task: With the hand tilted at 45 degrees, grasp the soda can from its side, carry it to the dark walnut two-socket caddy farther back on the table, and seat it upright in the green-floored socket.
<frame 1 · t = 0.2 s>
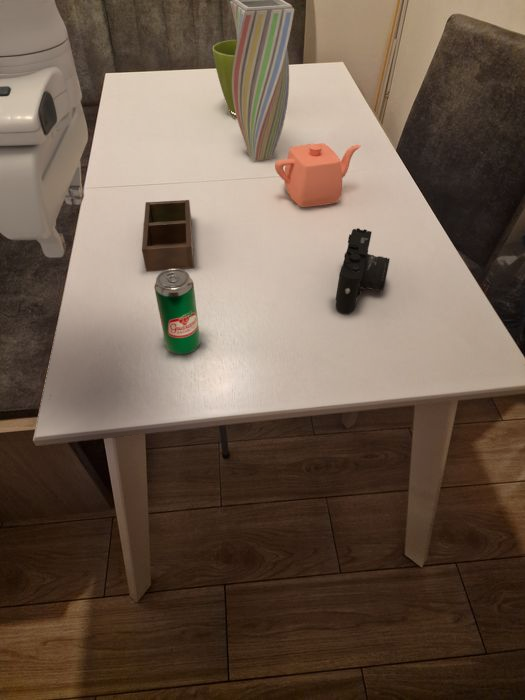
hand: (66, 225, 50), 23 cm above the table, tool pointing down, fingers open, 8 cm apart
flower pot: (243, 114, 132), on the table
teapot: (314, 195, 102), on the table
camera: (359, 291, 80), on the table
vase: (260, 156, 115), on the table
soda can: (183, 344, 71), on the table
caddy: (170, 244, 88), on the table
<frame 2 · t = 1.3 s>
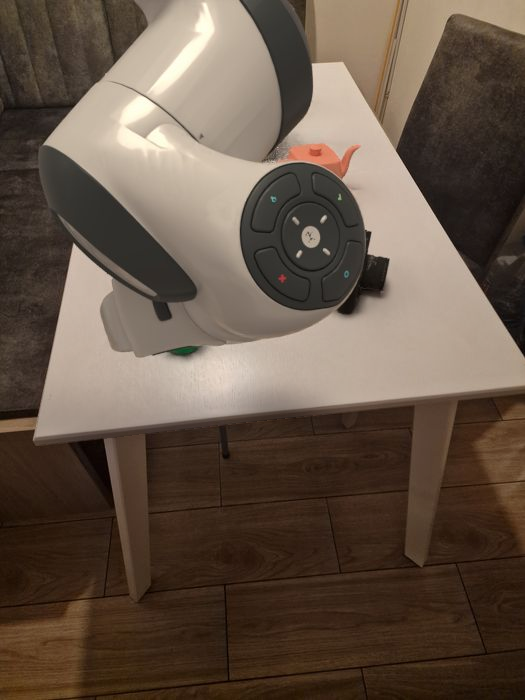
hand: (202, 307, 51), 17 cm above the table, tool tilted 45°, fingers open, 8 cm apart
nothing on the table moved.
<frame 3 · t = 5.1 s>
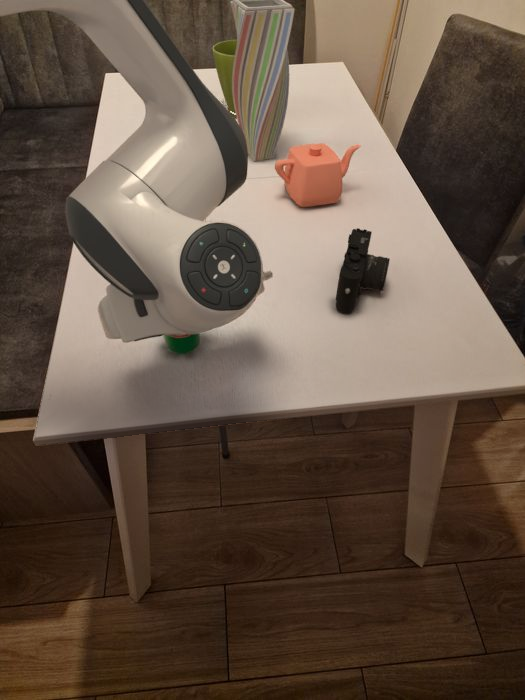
hand: (176, 307, 66), 7 cm above the table, tool tilted 45°, fingers closed on soda can, 5 cm apart
soda can: (183, 344, 71), on the table, touching gripper
everything else where it was.
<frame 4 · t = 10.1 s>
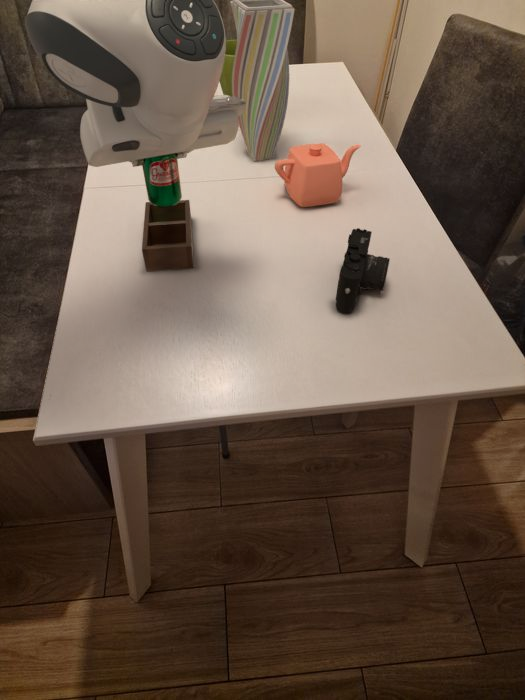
hand: (157, 157, 70), 19 cm above the table, tool tilted 45°, fingers closed on soda can, 5 cm apart
soda can: (165, 202, 74), point 13 cm above the table, touching gripper
everything else where it was.
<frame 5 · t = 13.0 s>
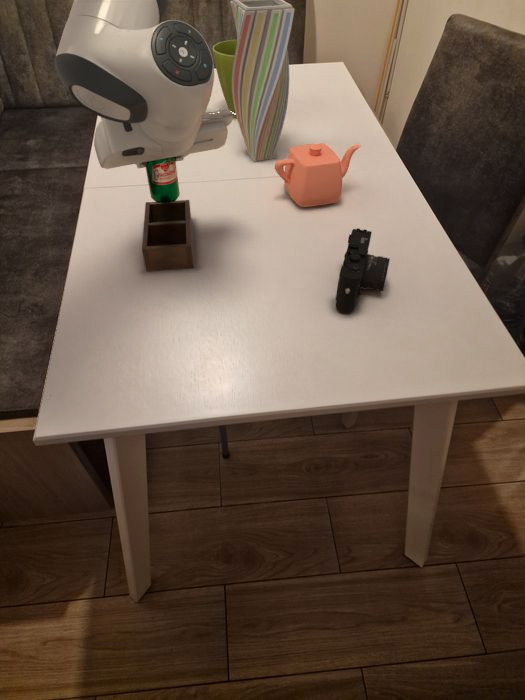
hand: (158, 160, 81), 14 cm above the table, tool tilted 45°, fingers closed on soda can, 5 cm apart
soda can: (165, 198, 86), point 7 cm above the table, touching gripper
everything else where it was.
when the fingers open (7 cm above the table, at t = 15.2 s): soda can stays where it is, resting on caddy.
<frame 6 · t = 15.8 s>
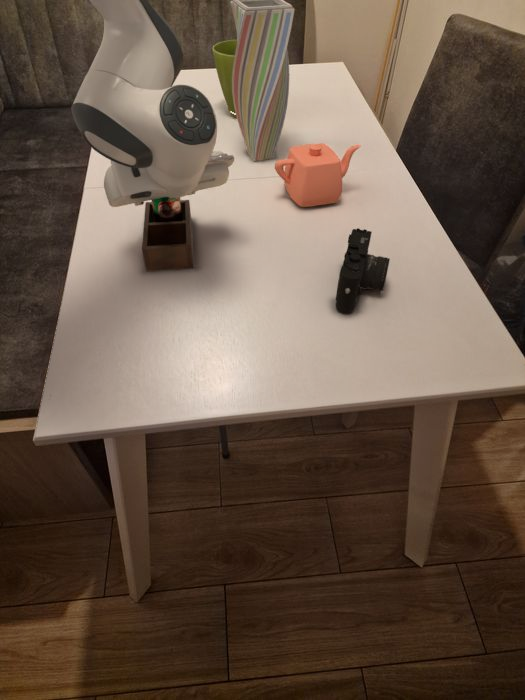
hand: (163, 195, 86), 7 cm above the table, tool tilted 45°, fingers open, 8 cm apart
soda can: (170, 231, 91), point 1 cm above the table, touching caddy
everything else where it was.
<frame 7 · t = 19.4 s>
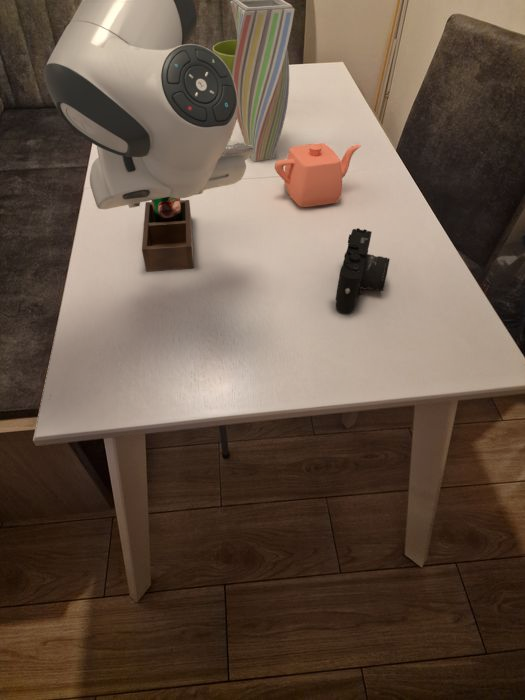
hand: (164, 195, 71), 15 cm above the table, tool tilted 45°, fingers open, 8 cm apart
nothing on the table moved.
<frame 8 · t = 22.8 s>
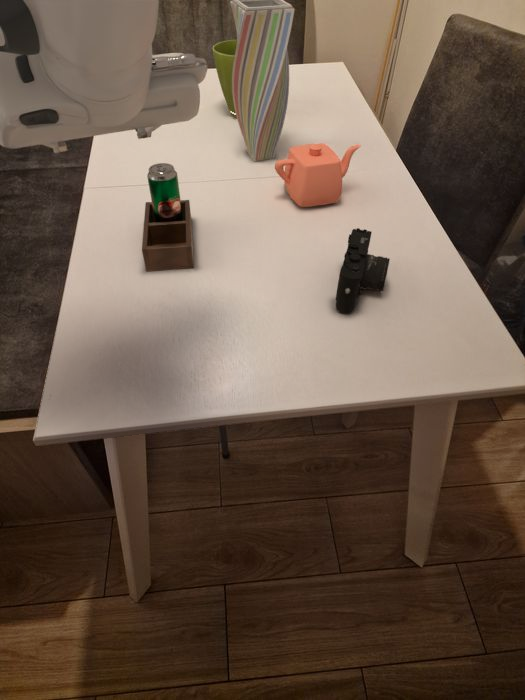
hand: (101, 138, 55), 27 cm above the table, tool tilted 45°, fingers open, 8 cm apart
nothing on the table moved.
at the end: soda can 0.1 cm from the target spot in the caddy, point 0.5 cm above the caddy's base; soda can tilted 0°; the gripper is holding nothing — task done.
